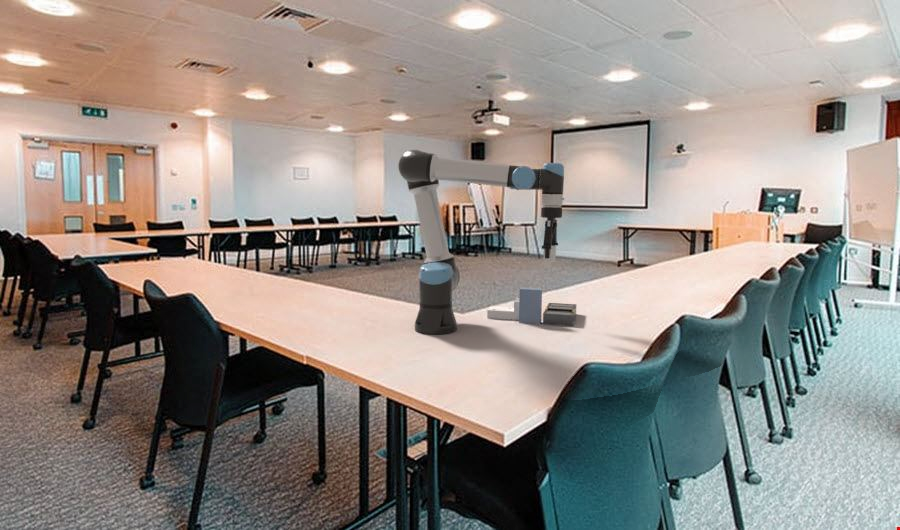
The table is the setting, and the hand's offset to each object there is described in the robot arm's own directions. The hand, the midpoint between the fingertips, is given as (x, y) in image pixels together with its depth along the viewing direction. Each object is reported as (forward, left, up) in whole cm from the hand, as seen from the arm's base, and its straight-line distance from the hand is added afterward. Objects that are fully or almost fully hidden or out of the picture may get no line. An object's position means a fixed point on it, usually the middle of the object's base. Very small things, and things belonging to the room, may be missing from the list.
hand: (549, 265), depth 196 cm
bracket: (-18, +9, -23) cm, 31 cm away
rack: (+4, +13, -23) cm, 26 cm away
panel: (-7, +3, -23) cm, 24 cm away
